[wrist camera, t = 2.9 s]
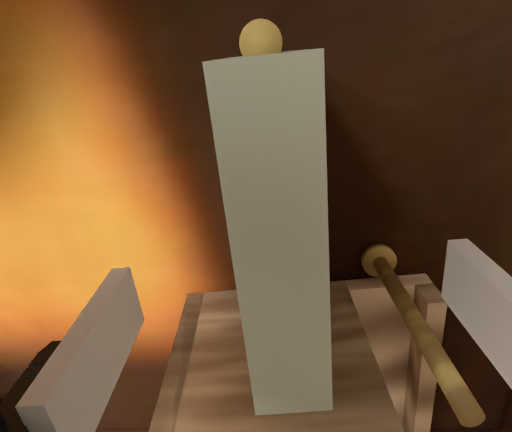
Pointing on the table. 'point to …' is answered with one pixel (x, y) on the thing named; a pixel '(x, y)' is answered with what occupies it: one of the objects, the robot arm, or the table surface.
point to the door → (276, 213)
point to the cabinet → (343, 361)
